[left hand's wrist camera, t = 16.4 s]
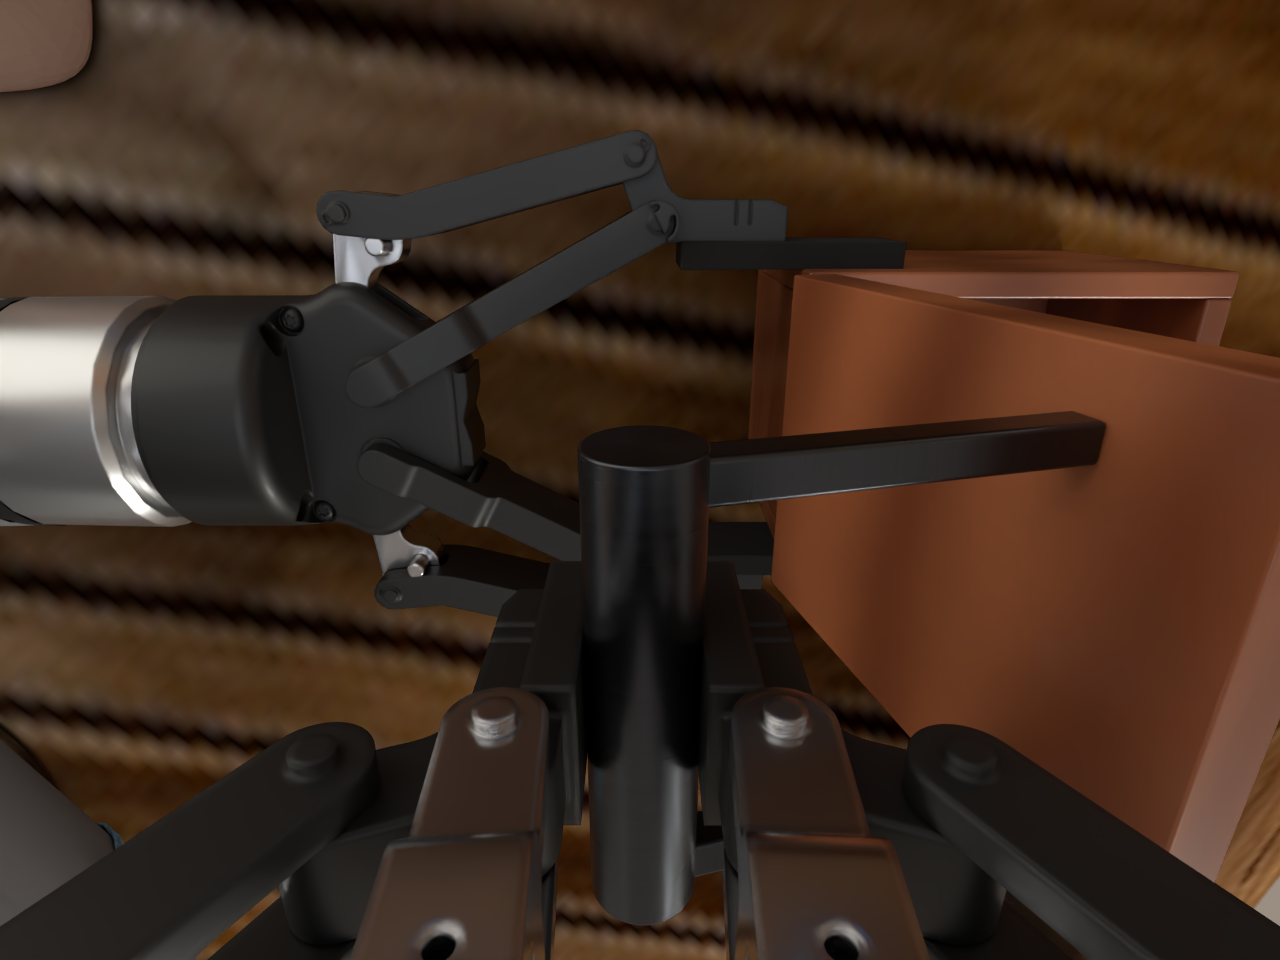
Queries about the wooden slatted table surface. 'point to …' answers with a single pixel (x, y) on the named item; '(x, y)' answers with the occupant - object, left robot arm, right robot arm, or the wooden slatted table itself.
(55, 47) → the anatomical model
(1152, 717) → the lid
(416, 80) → the wooden slatted table surface
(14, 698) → the wooden slatted table surface
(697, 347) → the wooden slatted table surface
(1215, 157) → the wooden slatted table surface
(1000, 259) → the chest
